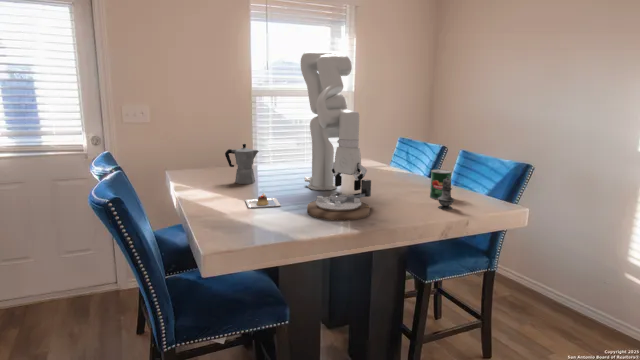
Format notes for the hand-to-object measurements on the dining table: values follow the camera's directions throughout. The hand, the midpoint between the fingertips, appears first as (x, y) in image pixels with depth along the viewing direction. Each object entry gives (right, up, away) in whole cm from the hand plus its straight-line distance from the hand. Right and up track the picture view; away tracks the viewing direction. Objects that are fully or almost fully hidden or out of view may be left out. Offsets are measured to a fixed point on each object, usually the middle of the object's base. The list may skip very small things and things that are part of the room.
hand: (347, 188), depth 164 cm
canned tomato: (+38, -4, +9) cm, 39 cm away
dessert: (-32, -7, -4) cm, 33 cm away
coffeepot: (-47, +2, +35) cm, 58 cm away
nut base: (-4, -8, -14) cm, 16 cm away
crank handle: (-1, -5, -12) cm, 13 cm away
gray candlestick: (+36, -7, -8) cm, 37 cm away
